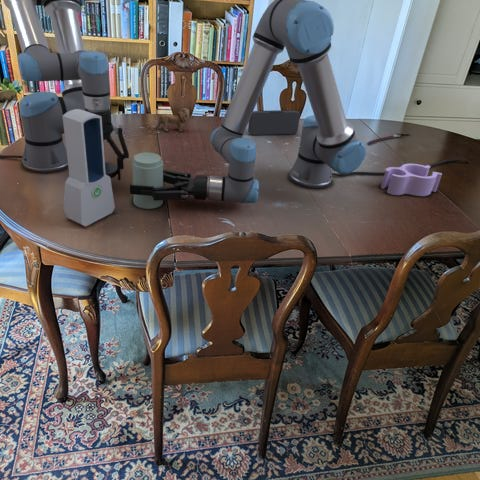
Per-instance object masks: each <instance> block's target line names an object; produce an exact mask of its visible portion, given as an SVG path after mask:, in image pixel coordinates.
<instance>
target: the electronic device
mask: <svg viewBox="0 0 480 480" xmlns="http://www.w3.org/2000/svg"><path fill="white" fill-rule="evenodd" d="M63 125H64V133H65V134H64V141H65V147H66V150H67V159H68V167H67V168H68V174H69V176H68V177H67V179H66V181H64V194H63V195H64V196H63V197H64V198H63V212H64V215H65V217H66V218H67V219H69V220H70V221H73V222H75V223H77V224H78V225H81V226H83V227H88V226H90V225H91V224H93V223H95V222H97V221H99V220H101V219H103V218H105V217H107V216H109V215H111V214H112V213H113V212H114V210H115V209H116V206H115V200H114V199H115V198H114V194H113V193H114V191H113V186H112V178H110V177H109V176H108V175H106V173H105V162H106V160H105V146H104V140H103V130H102V116H99V115H96V114H93V113H90V112H87V111H84V110H80V109H74V110H71V111H69V112H67V113H65V114H64V115H63Z"/></svg>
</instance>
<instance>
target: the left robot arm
mask: <svg viewBox="0 0 480 480" xmlns="http://www.w3.org/2000/svg"><path fill="white" fill-rule="evenodd" d="M3 4H4V6H5V7H6V8H7V9H8V10H9V12H10V15H11V19H12V21H13V25H14V29H15V33H16V36H17V39H18V42H19V43H18V44H19V47H20V50H21V53H19V54H17V58H16V59H17V65H18V70H19V75H20V78H21V79H22V80H23V81H24V82H36V83H39V82H54V81H56V82H59V81H63V82H64V83H63V84H64V88H63V90H62V91H61V96H58V94H57V93H55V92H54V91H38V92H32V93H29V94H27V95H25V96H23V97H22V98H21V99H20V100H19V103H18V104H19V116H20V118H21V123H22V124H21V125H22V130H23V131H22V132H23V136H24V148H23V153H22V155H11V154H10V155H7V154H6V155H5V154H0V158H3V159H22V160H21V161H22V166H23V168H24V169H25V170H27V171H29V172H33V173H39V174H46V173H56V172H61V171H63V170H66V169H67V168H68V159H67V150H66V144H65V143H64V140H63V135H65V133H64V125H63V115H64V114H65V113H67V112H69V111H71V110H74V109H80V110H84V111H87V112H90V113H93V114H96V115H99V116H102V130H103V141H106V142H107V143H108V144H109V146H110V147H111V149H112V151H113V152H114V153H115V155H116V166H117V169H118V174H117V180H118V181H120V180H121V170H124V168H125V167H124V160H125V159H129V158H130V153H129V150H128V146H127V143H126V140H125V138H124V134H123V126H122V125H118V126H116V125H113V122H112V110H111V93H110V92H111V91H110V78H109V76H110V75H109V69H110V66H109V63H108V61H109V60H108V57H107V54H105V53H104V52H101V51H97V50H85V45H84V40H83V35H82V31H81V24H80V20H79V15H80V13H81V11H82V8H83V6H84V5H85V0H3ZM36 6H39V7H40V6H41V7H43V9H44V10H43V11H44V13H45V14H46V15H48V16H49V17H50V20H51V24H52V30H53V34H54V39H55V43H56V49H57V52H51V49H50V47H49V44H48V41H47V37H46V34H45V31H44V29H43V25H42V22H41V20H40V16H39V14H38V10H37V8H36ZM113 131H114V132H115V134H116V135H117V136H118V140H119V143H120V146H121V149H122V152H121V150H120V148H119V147H118V145H117V143H116V142H115V141H114V139H113V137H112V135H111V134H112V133H113Z"/></svg>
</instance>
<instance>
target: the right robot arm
mask: <svg viewBox="0 0 480 480" xmlns="http://www.w3.org/2000/svg"><path fill="white" fill-rule="evenodd" d="M334 27H335V25H334V19H333V18H332V15H331V13H330V12H329V11H328V9H327V8H326V7H325V6H323V5H321V4H319V3H318V2H316V1H313V0H273V1H272V2H271V3H269V5H268V6H267V7H266V9H265V10H264V11H263V13H262V15H261V17H260V18H259V21H258V23H257V25H256V28H255V30H254V33H253V34H252V35H253V36H252V41H253V44H252V47H251V49H250V53H249V54H248V58H247V59H246V63H245V64H244V67H243V70H242V72H241V75H240V78H239V80H238V82H237V85H236V87H235V89H234V92H233V94H232V97H231V100H230V102H229V105H228V107H227V110H226V111H225V115H224V116H223V120H222V122H221V125H220V126H219V127H217V128H216V129H214V130H213V131H212V132H211V134H210V144H211V146H212V147H213V149H214V150H215V151H216V153H218V154H219V155H220V156H221V157H222V159H224V161H225V162H226V163H227V164H228V173H227V176H221V175H209V176H208V175H206V174H196V175H195V176H194V178H192V174H191V173H189V172H181V171H180V172H179V171H174V170H168V169H164V168H163V183H166V184H169V185H166V186H163V187H159V188H154V186H139V185H133V184H129V195H133V194H134V195H147V196H152V197H153V200H155V201H157V200H163V201H185V202H186V201H188V197H189V196H193V199H194V200H198V201H205V200H207V201H214V202H226V203H237V204H255V203H256V202H257V201H258V199H259V190H260V182H259V180H258V179H257V178H254V172H255V164H256V158H257V144H256V142H255V141H254V140H252V139H250V138H246V137H244V135H245V132H246V129H247V127H248V126H249V120H250V118H251V115H252V113H253V111H255V108H256V106H257V104H258V102H259V99H260V96H261V94H262V92H263V90H264V87H265V85H266V82H267V80H268V78H269V76H270V73H271V71H272V69H273V66H274V64H275V62H276V60H277V57H278V55H279V54H280V53H283V52H284V49H285V50H286V53H287V55H288V58H289V61H290V63H291V64H294V65H296V66H297V68H298V70H299V74H300V76H301V79H302V82H303V86H304V88H305V89H304V90H305V91H306V94H307V97H308V100H309V104H310V107H311V110H312V113H313V115H308V116H307V117H305V118H304V120H303V124H302V127H301V134H300V141H299V147H298V153H297V157H296V159H295V161H294V163H293V165H292V167H291V169H290V170H289V175H288V177H289V180H290V181H291V182H292V183H294V184H295V185H297V186H300V187H302V188H307V189H314V190H315V189H316V190H319V189H325V188H328V187H329V186H331V185H332V181H333V176H335V177H346V176H352V175H369V176H371V175H373V176H374V175H375V176H378V175H381V176H384V175H385V171H384V172H383V171H380V172H379V171H374V172H373V171H356V170H357V169H358V168H359V167H360V166H361V165H362V163H363V161H364V160H365V158H366V154H367V148H366V145H365V144H364V143H363V142H362V141H361V140H359V139H358V137H357V135H356V131H355V127H354V125H353V123H352V122H349V121H348V120H347V118H346V114H345V111H344V108H343V104H342V100H341V96H340V93H339V89H338V86H337V81H336V78H335V74H334V72H333V68H332V64H331V61H330V57H329V52H330V51H331V49H332V42H331V41H332V36H334V29H335V28H334ZM451 159H452V158H451ZM451 159H450V160H448V159H444V160H440V161H437V162H434V163H432V164H428V165H429V166H430V168H432V167H435V166H438V165H441V164H444V163H447V162H461V161H460V160H467V159H466V158H463V157H462V158H454V159H455V160H451ZM464 162H466V163H467V164H468V165H471V162H470V161H469V160H468V161H464ZM332 171H333V172H332Z"/></svg>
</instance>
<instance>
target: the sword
mask: <svg viewBox="0 0 480 480" xmlns="http://www.w3.org/2000/svg"><path fill="white" fill-rule="evenodd" d="M401 134H402V133H396V134H392V135H389V136H383V137H379V138H376V139H372V140H370V141H368V143H367V144H368V145H372V144H373V143H377V142H381V141H384V140H389V139H393V138H400V137H402V136H406V135H409V134H404V135H401Z"/></svg>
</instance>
